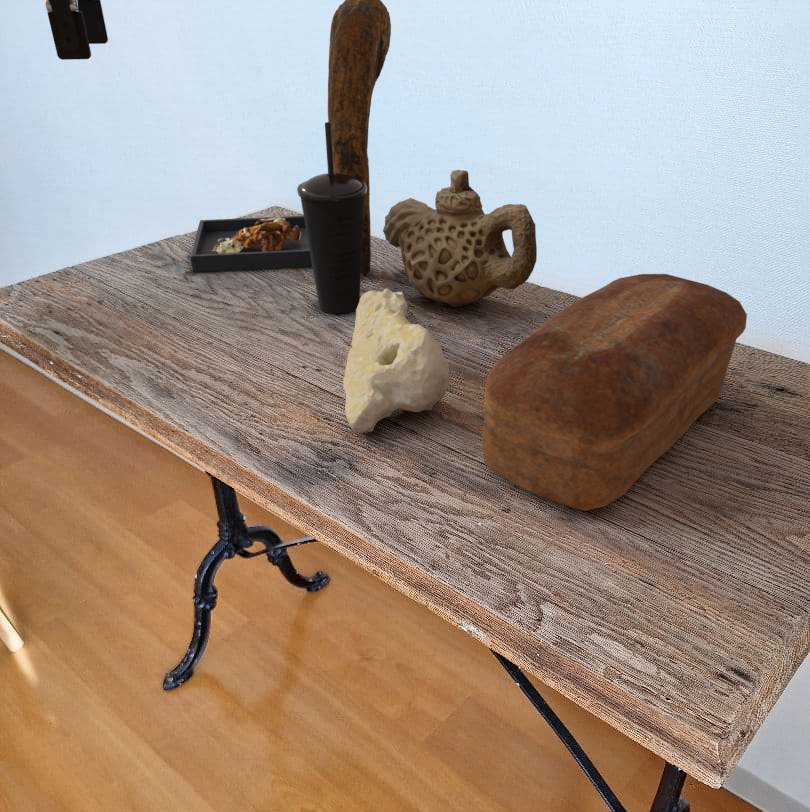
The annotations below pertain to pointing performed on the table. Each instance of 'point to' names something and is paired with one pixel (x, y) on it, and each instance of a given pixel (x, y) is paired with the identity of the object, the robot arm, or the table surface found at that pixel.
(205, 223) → the serving tray
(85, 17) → the robot arm
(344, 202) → the drinking cup
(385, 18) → the sculpture
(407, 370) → the cheese
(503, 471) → the bread
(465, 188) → the teapot
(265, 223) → the taco
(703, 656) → the table surface
